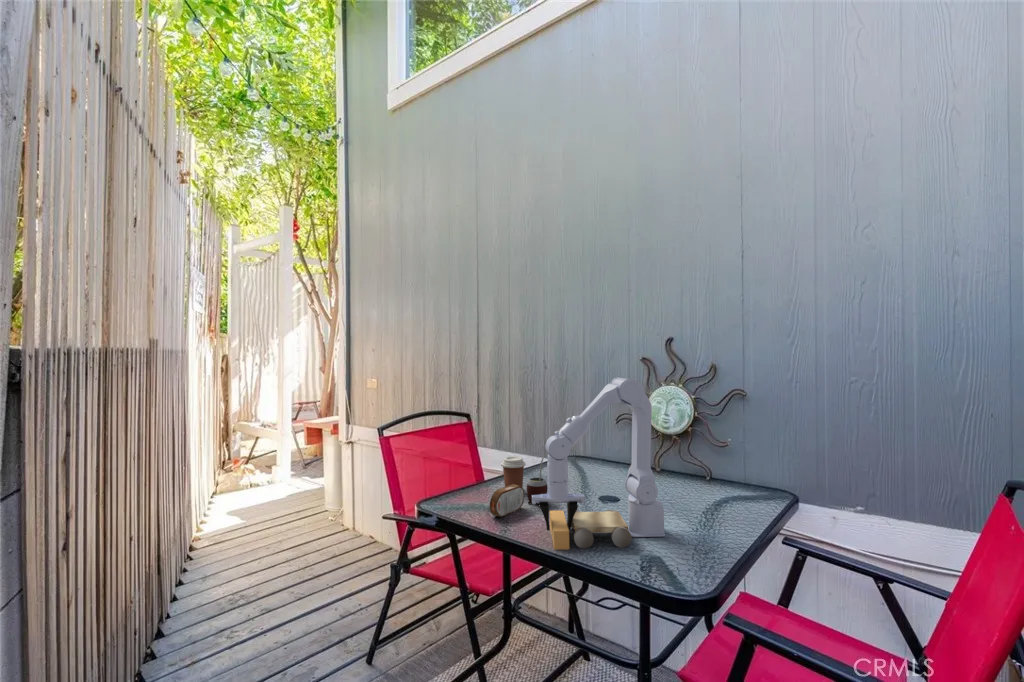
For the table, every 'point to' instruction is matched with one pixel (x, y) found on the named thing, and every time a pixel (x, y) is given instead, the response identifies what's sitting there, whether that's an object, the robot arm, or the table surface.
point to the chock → (559, 530)
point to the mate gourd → (536, 485)
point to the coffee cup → (513, 470)
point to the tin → (506, 500)
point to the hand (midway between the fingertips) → (558, 529)
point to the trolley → (600, 528)
